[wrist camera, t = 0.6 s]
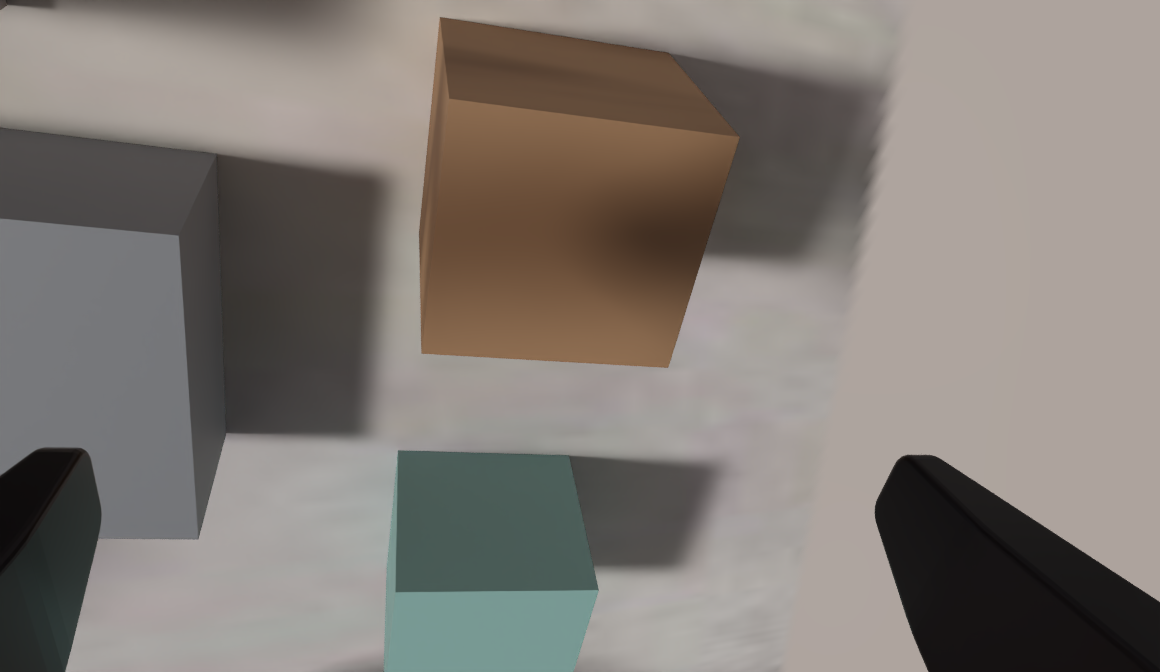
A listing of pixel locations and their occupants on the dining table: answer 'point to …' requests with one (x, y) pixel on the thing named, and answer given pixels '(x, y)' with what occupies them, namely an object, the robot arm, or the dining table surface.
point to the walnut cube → (563, 197)
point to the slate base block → (114, 322)
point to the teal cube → (486, 564)
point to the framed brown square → (2, 4)
